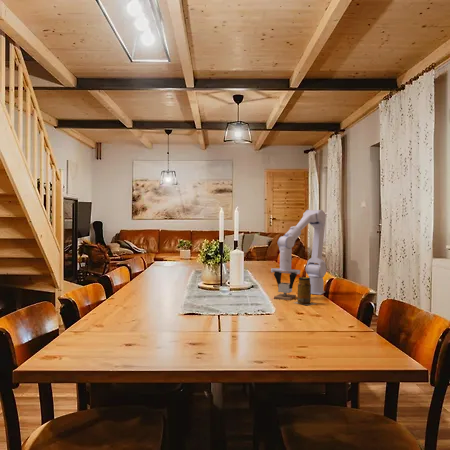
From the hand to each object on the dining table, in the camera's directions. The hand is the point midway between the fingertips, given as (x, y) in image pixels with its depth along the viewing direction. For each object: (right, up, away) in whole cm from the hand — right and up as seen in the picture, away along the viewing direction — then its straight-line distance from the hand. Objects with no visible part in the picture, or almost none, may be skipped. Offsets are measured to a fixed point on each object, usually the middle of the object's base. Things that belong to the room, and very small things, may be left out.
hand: (285, 287), depth 224 cm
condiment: (+8, -6, -14) cm, 16 cm away
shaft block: (0, -5, 0) cm, 5 cm away
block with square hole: (0, -2, 0) cm, 2 cm away
